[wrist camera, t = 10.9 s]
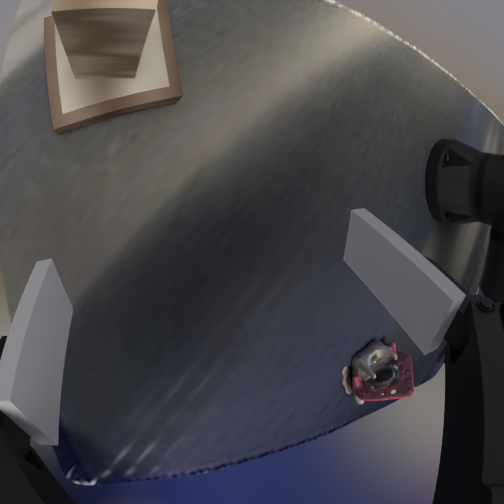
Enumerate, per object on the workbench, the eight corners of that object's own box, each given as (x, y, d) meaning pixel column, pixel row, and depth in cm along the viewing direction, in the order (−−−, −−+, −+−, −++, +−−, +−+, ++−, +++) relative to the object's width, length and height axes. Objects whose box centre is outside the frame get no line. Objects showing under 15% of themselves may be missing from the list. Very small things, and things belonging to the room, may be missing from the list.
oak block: (143, 27, 19) (173, -58, 9) (134, 78, 20) (156, 9, 10) (86, 27, 17) (80, -59, 7) (75, 79, 18) (51, 11, 8)
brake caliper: (395, 320, 44) (438, 375, 39) (373, 339, 53) (409, 385, 48) (343, 365, 41) (389, 425, 36) (327, 376, 50) (365, 425, 45)
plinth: (159, 6, 21) (165, -9, 19) (175, 102, 25) (183, 95, 22) (49, 31, 18) (44, 17, 15) (59, 134, 21) (53, 129, 19)
